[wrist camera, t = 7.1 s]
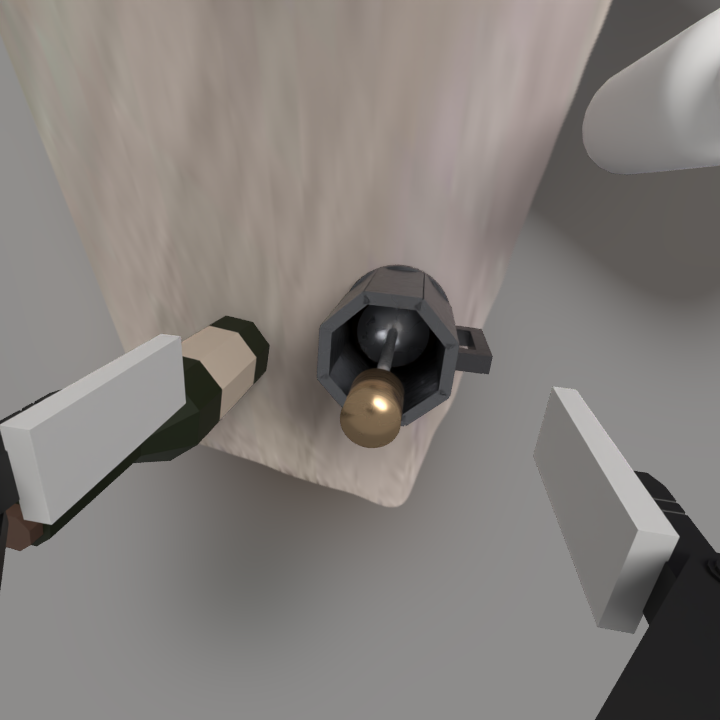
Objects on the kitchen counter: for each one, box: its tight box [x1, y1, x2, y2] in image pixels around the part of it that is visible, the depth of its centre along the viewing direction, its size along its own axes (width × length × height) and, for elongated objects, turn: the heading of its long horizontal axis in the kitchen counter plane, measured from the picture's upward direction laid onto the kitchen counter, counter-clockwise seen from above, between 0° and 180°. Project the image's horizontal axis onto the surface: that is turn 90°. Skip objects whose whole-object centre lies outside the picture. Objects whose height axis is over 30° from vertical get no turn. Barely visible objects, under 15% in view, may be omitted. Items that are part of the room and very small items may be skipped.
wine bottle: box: [6, 316, 269, 551], centre depth 38 cm, size 8×8×30 cm
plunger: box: [340, 305, 429, 448], centre depth 35 cm, size 7×7×19 cm
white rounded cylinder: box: [582, 8, 720, 175], centre depth 30 cm, size 8×8×18 cm
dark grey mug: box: [317, 265, 492, 426], centre depth 41 cm, size 12×14×13 cm
